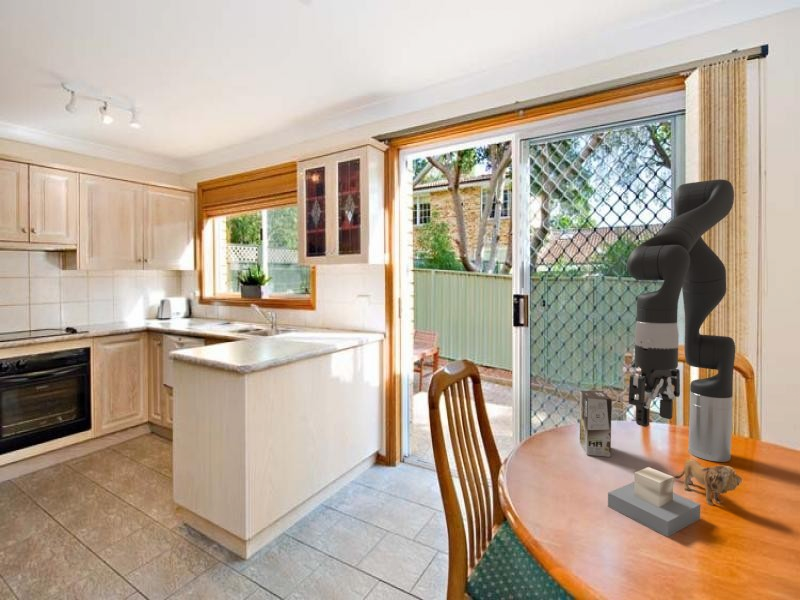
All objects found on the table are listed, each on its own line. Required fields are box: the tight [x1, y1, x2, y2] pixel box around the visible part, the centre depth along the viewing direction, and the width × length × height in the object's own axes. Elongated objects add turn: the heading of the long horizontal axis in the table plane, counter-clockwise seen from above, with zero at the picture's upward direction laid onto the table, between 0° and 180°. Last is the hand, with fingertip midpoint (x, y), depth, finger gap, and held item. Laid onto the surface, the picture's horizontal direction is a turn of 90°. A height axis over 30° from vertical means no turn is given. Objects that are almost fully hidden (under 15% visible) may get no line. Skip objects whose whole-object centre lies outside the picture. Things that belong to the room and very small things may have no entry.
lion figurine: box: [673, 458, 743, 506], centre depth 90 cm, size 15×5×9 cm, turn 12°
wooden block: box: [634, 466, 674, 507], centre depth 84 cm, size 5×5×5 cm
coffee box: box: [579, 390, 613, 458], centre depth 115 cm, size 9×6×16 cm
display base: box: [607, 481, 702, 538], centre depth 84 cm, size 12×12×3 cm
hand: (654, 421), depth 83 cm, fingers open, 8 cm apart
